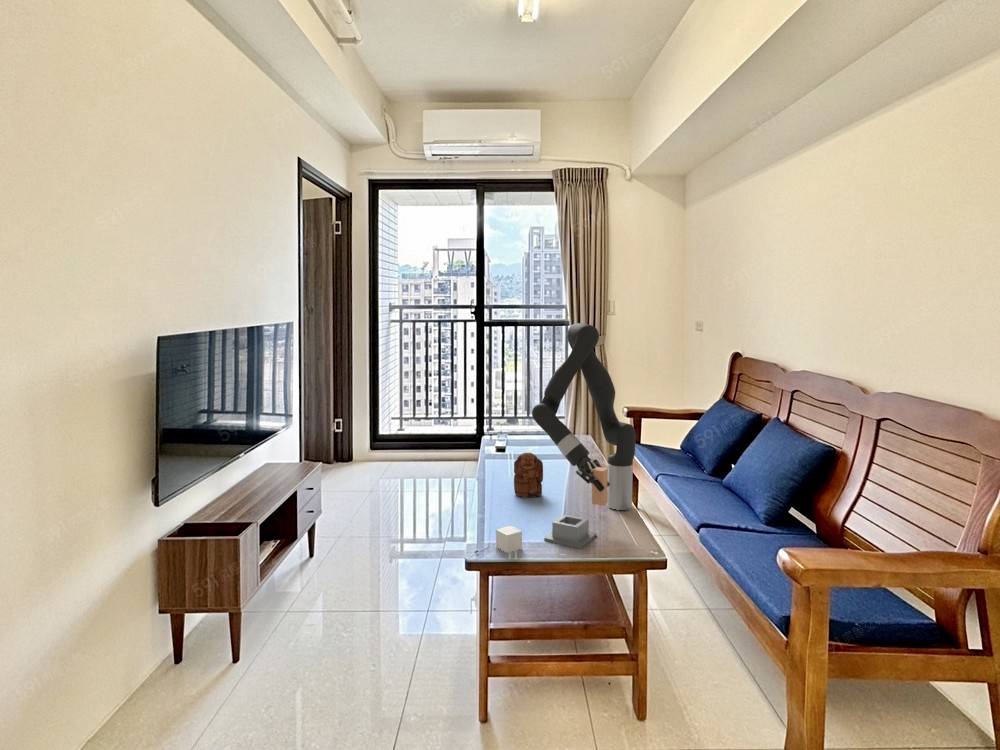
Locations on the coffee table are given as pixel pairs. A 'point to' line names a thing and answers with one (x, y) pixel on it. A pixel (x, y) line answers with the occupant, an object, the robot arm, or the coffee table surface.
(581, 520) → the well
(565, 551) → the coffee table surface
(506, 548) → the white cube
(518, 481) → the wooden figurine
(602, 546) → the coffee table surface
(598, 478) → the orange rectangular block
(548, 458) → the coffee table surface
